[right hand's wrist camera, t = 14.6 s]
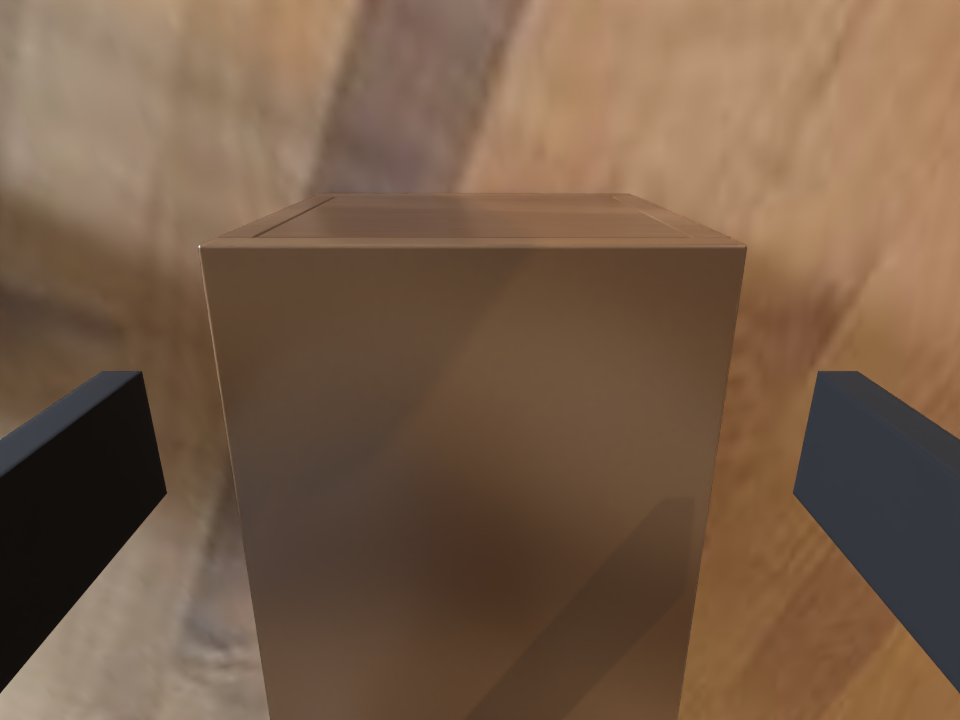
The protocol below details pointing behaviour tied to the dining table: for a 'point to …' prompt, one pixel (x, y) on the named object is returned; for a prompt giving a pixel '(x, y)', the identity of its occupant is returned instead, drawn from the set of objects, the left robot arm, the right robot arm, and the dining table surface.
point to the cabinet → (473, 448)
